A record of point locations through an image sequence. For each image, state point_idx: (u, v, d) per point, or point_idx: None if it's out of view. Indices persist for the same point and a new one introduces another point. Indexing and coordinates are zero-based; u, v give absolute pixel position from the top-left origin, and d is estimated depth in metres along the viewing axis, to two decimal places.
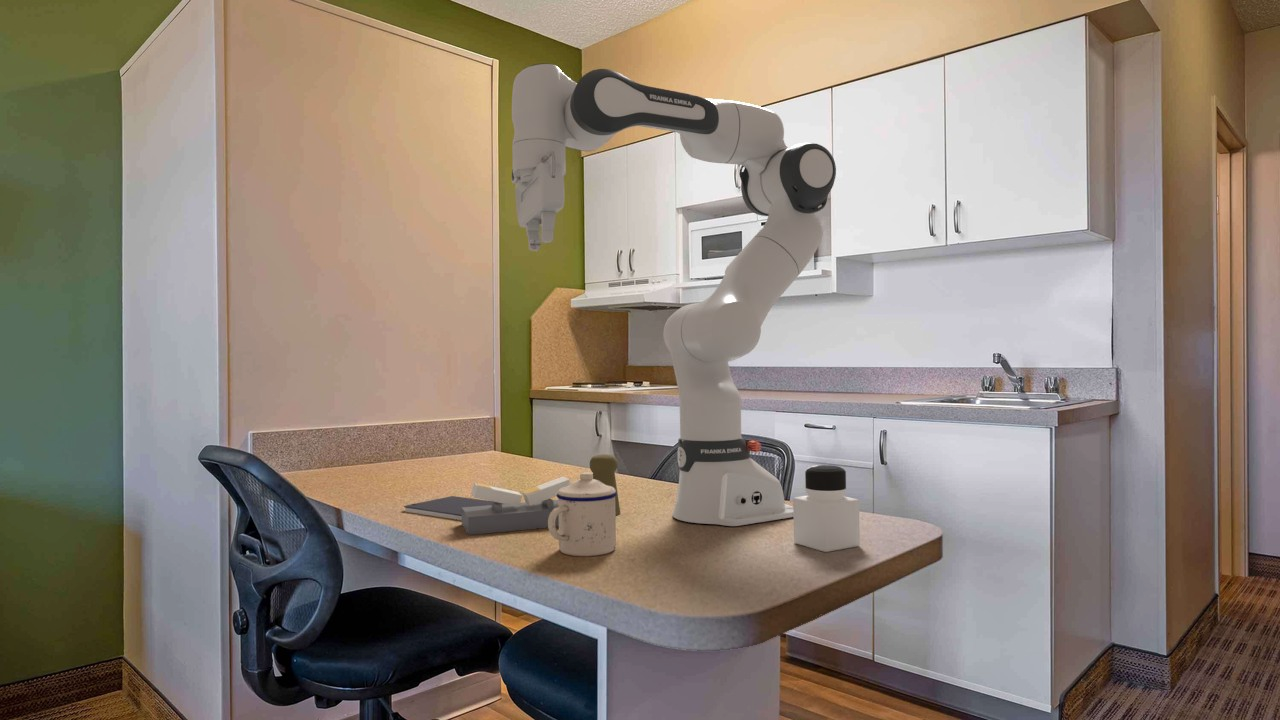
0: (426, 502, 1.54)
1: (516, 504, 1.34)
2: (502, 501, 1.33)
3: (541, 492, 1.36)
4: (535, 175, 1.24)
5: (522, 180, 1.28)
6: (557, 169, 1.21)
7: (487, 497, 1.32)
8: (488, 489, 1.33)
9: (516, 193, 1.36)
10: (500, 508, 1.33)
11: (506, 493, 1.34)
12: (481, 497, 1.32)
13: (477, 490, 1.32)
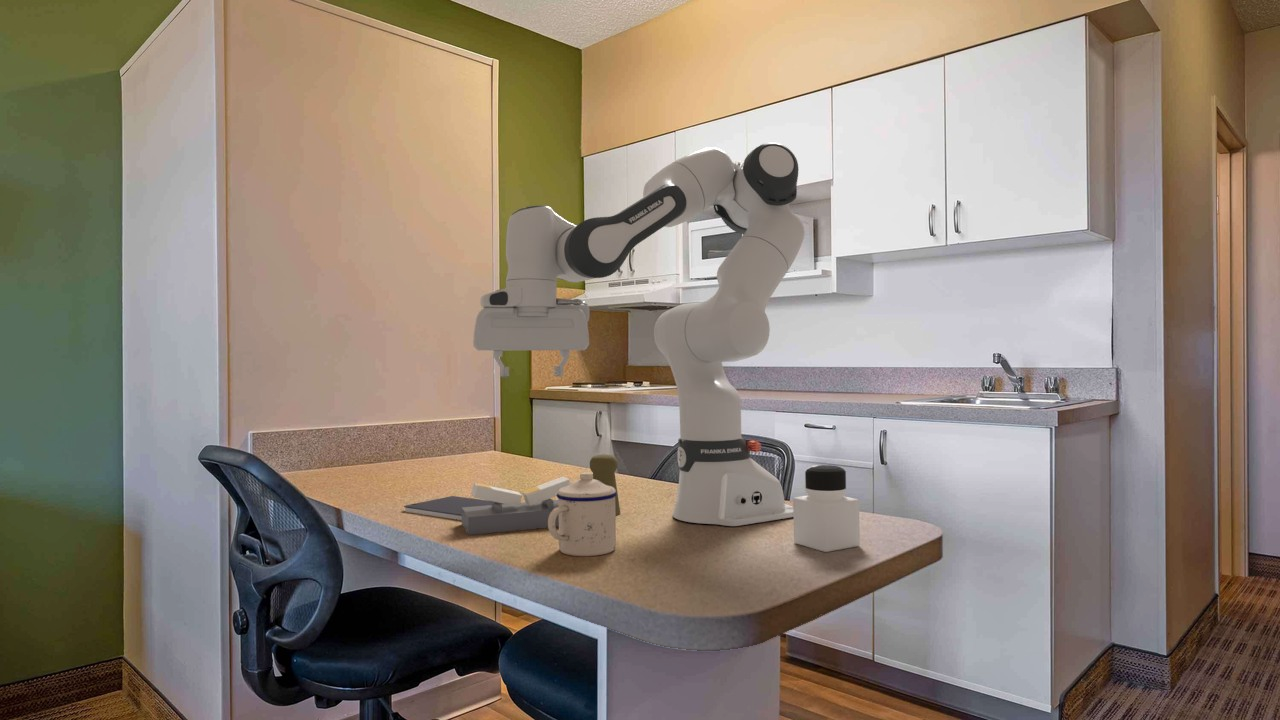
0: (426, 502, 1.54)
1: (516, 504, 1.34)
2: (502, 501, 1.33)
3: (541, 492, 1.36)
4: (561, 316, 1.36)
5: (537, 315, 1.34)
6: None
7: (487, 497, 1.32)
8: (488, 489, 1.33)
9: (485, 316, 1.32)
10: (500, 508, 1.33)
11: (506, 493, 1.34)
12: (481, 497, 1.32)
13: (477, 490, 1.32)
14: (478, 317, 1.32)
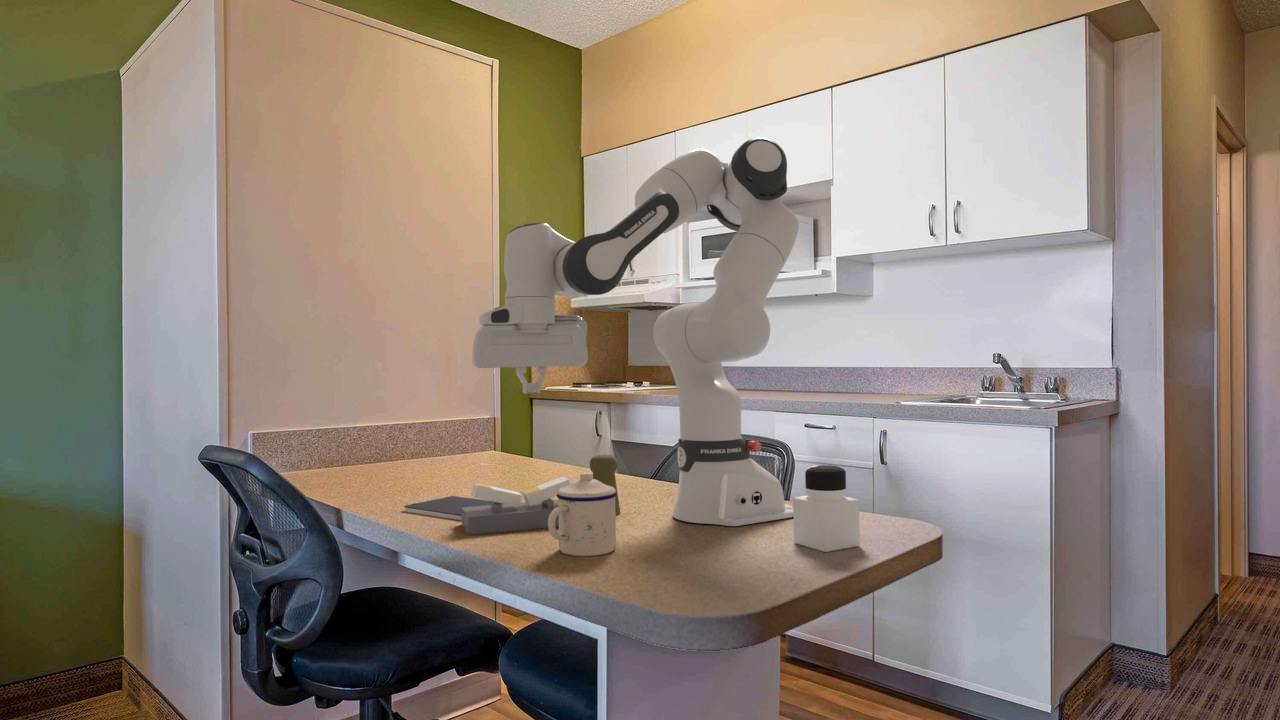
0: (426, 502, 1.54)
1: (516, 504, 1.34)
2: (502, 501, 1.33)
3: (541, 492, 1.36)
4: (561, 332, 1.37)
5: (538, 332, 1.35)
6: None
7: (487, 497, 1.32)
8: (488, 489, 1.33)
9: (486, 334, 1.32)
10: (500, 508, 1.33)
11: (506, 493, 1.34)
12: (481, 497, 1.32)
13: (477, 490, 1.32)
14: (479, 335, 1.32)
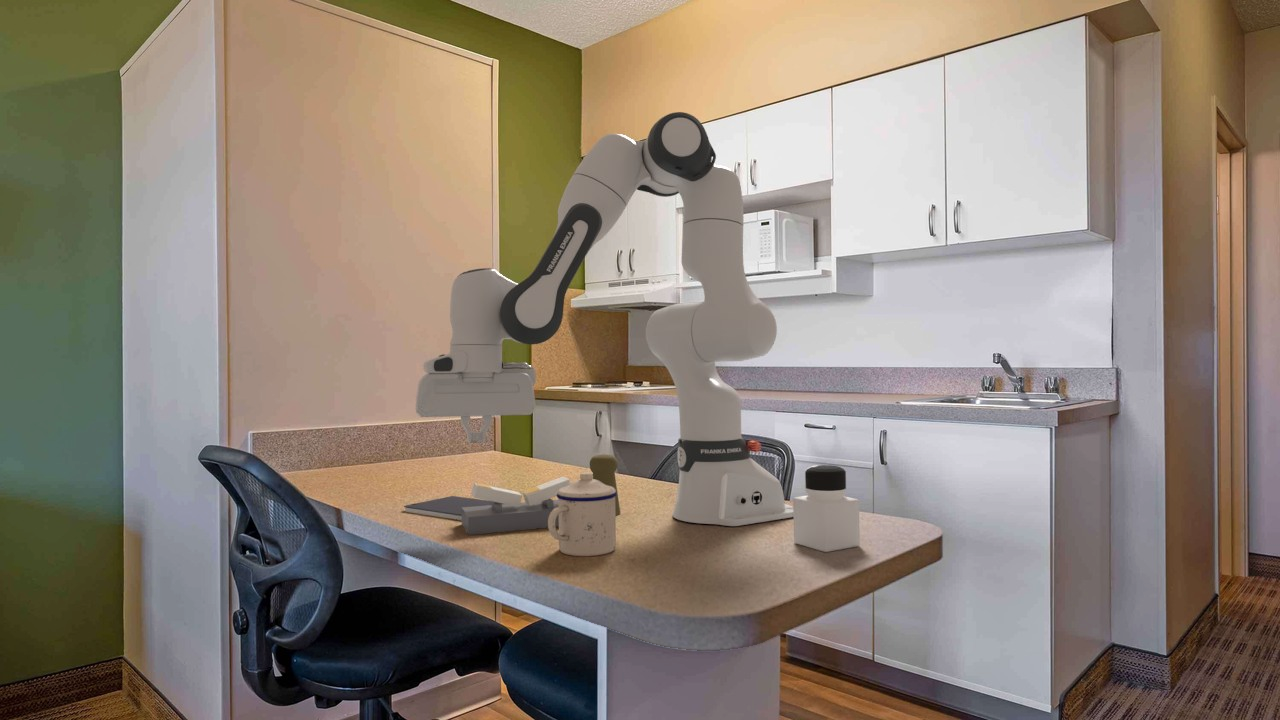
0: (426, 502, 1.54)
1: (516, 504, 1.34)
2: (502, 501, 1.33)
3: (541, 492, 1.36)
4: (507, 381, 1.34)
5: (483, 380, 1.31)
6: None
7: (487, 497, 1.32)
8: (488, 489, 1.33)
9: (429, 382, 1.29)
10: (500, 508, 1.33)
11: (506, 493, 1.34)
12: (481, 497, 1.32)
13: (477, 490, 1.32)
14: (421, 383, 1.29)
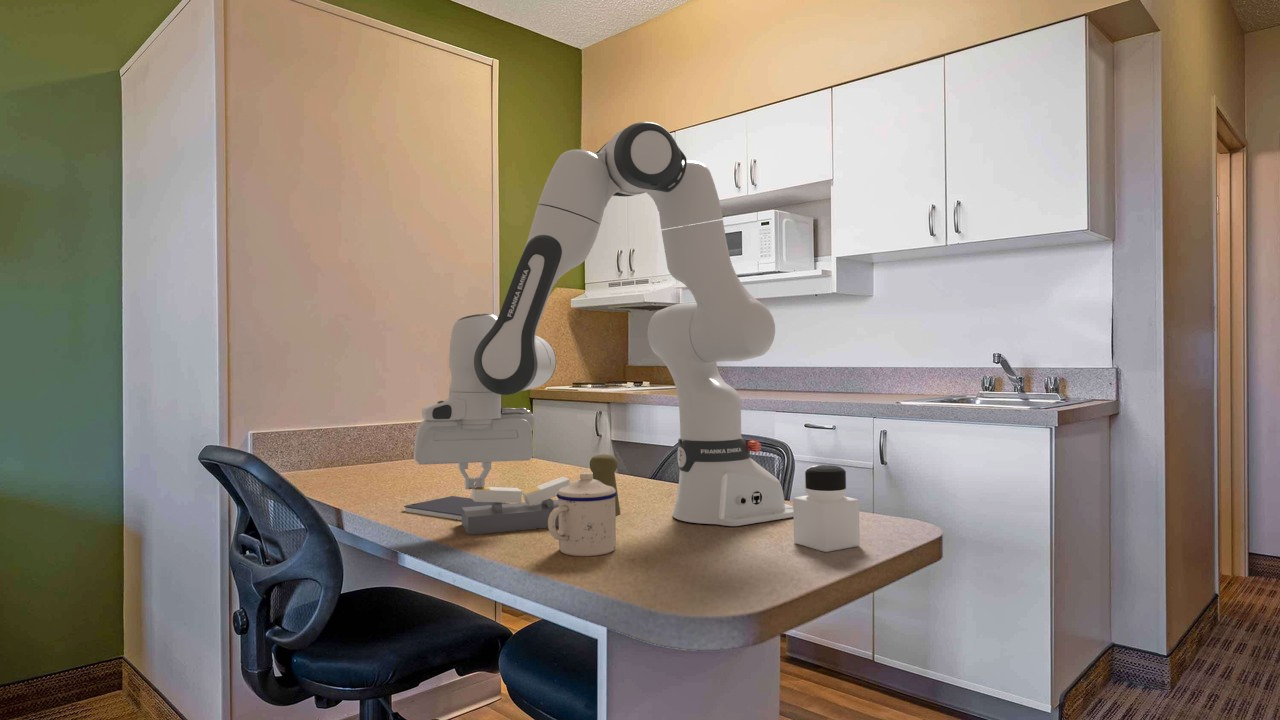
0: (426, 502, 1.54)
1: (517, 501, 1.34)
2: (503, 500, 1.33)
3: (541, 492, 1.36)
4: (506, 427, 1.34)
5: (481, 427, 1.31)
6: None
7: (487, 499, 1.32)
8: (487, 491, 1.33)
9: (427, 430, 1.29)
10: (500, 508, 1.33)
11: (505, 492, 1.34)
12: (481, 500, 1.32)
13: (476, 494, 1.32)
14: (420, 431, 1.28)
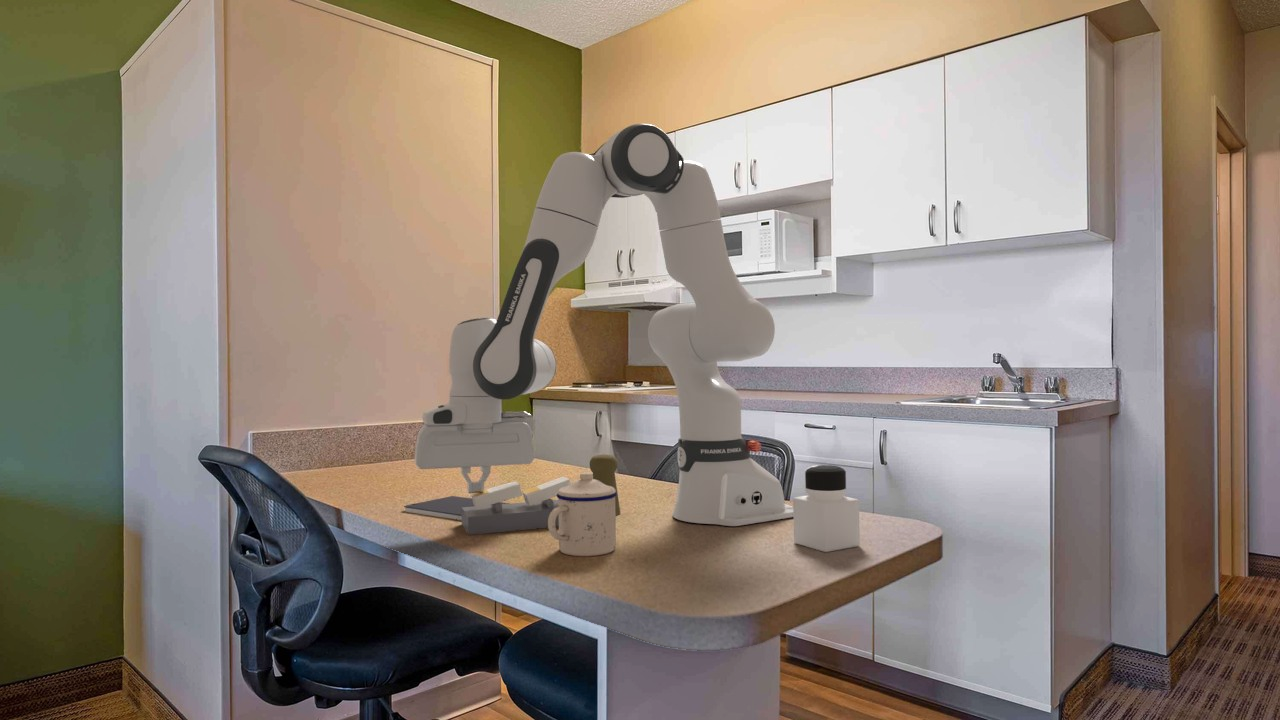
0: (426, 502, 1.54)
1: (518, 494, 1.34)
2: (504, 498, 1.33)
3: (541, 492, 1.36)
4: (507, 431, 1.34)
5: (482, 432, 1.31)
6: None
7: (488, 502, 1.33)
8: (486, 495, 1.32)
9: (428, 435, 1.29)
10: (500, 508, 1.33)
11: (504, 490, 1.33)
12: (483, 505, 1.32)
13: (476, 501, 1.32)
14: (421, 436, 1.28)
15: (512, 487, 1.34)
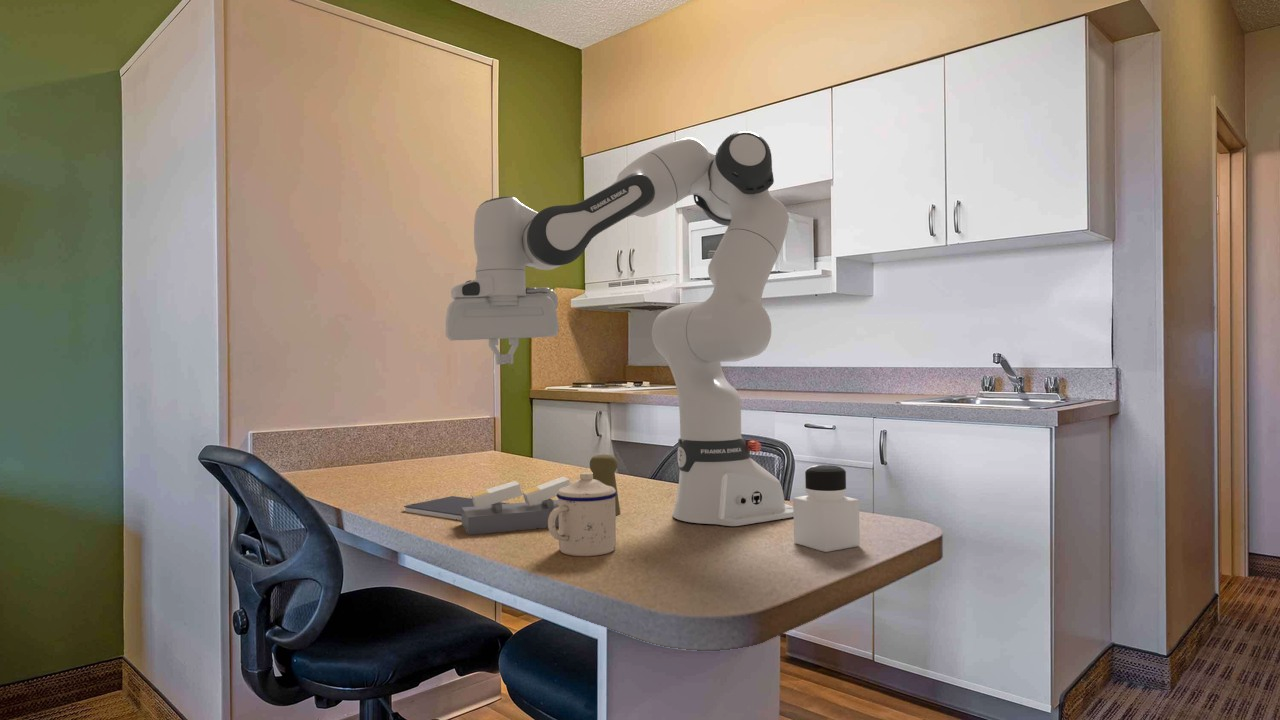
0: (426, 502, 1.54)
1: (518, 494, 1.34)
2: (504, 498, 1.33)
3: (541, 492, 1.36)
4: (531, 304, 1.40)
5: (509, 304, 1.38)
6: None
7: (488, 502, 1.33)
8: (486, 495, 1.32)
9: (458, 307, 1.35)
10: (500, 508, 1.33)
11: (504, 490, 1.33)
12: (483, 505, 1.32)
13: (476, 501, 1.32)
14: (451, 308, 1.35)
15: (512, 487, 1.34)
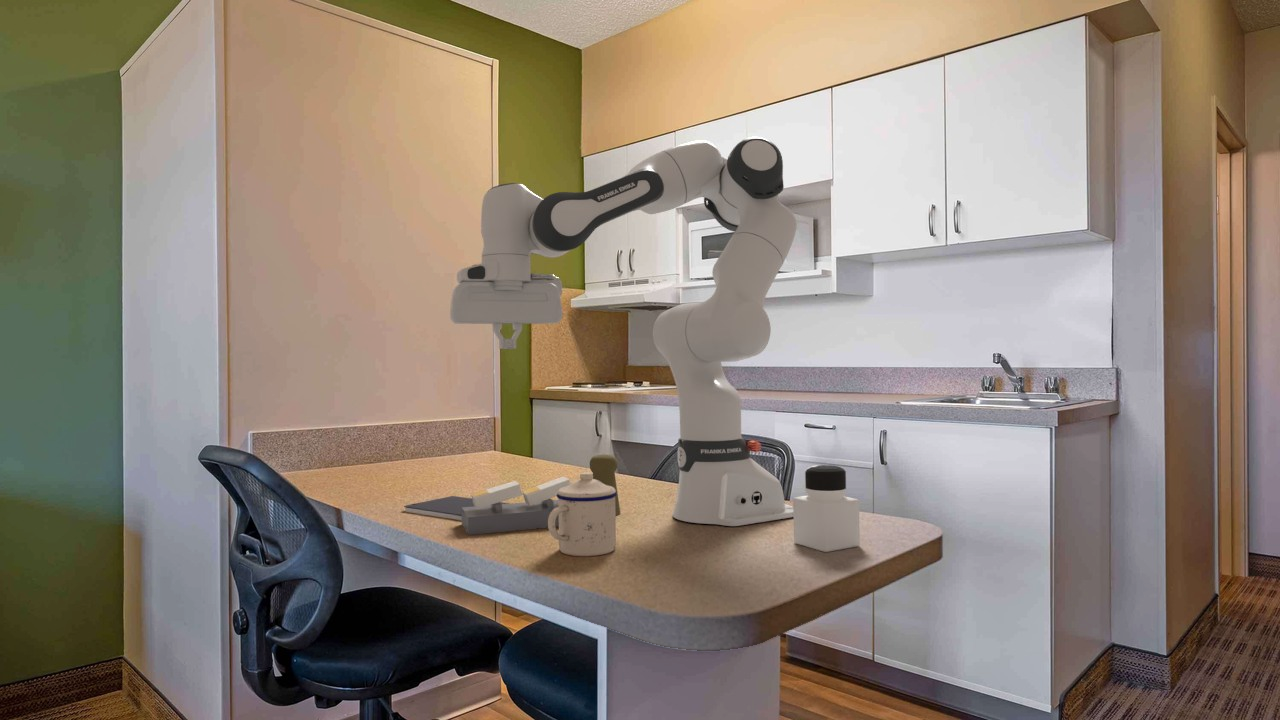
0: (426, 502, 1.54)
1: (518, 494, 1.34)
2: (504, 498, 1.33)
3: (541, 492, 1.36)
4: (536, 290, 1.42)
5: (513, 288, 1.39)
6: None
7: (488, 502, 1.33)
8: (486, 495, 1.32)
9: (463, 290, 1.37)
10: (500, 508, 1.33)
11: (504, 490, 1.33)
12: (483, 505, 1.32)
13: (476, 501, 1.32)
14: (456, 291, 1.36)
15: (512, 487, 1.34)
